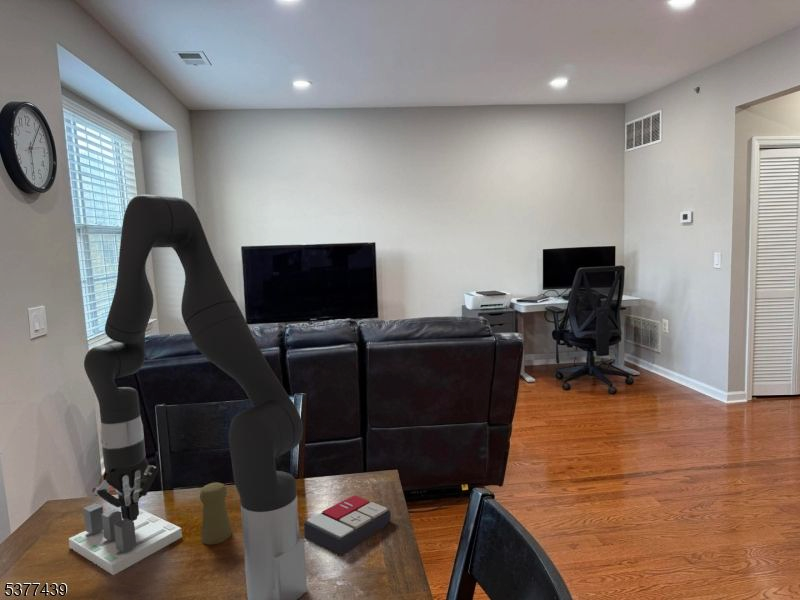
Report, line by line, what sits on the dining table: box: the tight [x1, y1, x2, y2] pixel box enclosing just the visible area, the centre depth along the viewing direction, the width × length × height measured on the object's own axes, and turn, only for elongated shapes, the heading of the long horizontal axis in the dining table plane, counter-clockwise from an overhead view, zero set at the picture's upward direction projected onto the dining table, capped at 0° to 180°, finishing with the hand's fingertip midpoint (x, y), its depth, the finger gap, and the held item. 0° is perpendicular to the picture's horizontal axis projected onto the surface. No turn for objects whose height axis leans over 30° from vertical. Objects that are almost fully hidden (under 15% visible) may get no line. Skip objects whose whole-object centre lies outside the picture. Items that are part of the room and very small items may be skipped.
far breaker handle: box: [82, 502, 104, 535], centre depth 103 cm, size 3×2×5 cm
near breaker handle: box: [114, 518, 136, 553], centre depth 96 cm, size 3×2×5 cm
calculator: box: [303, 494, 391, 557], centre depth 104 cm, size 11×4×15 cm
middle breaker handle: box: [102, 508, 122, 542], centre depth 100 cm, size 3×2×5 cm
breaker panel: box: [68, 508, 183, 576], centre depth 102 cm, size 17×14×2 cm
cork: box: [199, 482, 233, 545], centre depth 103 cm, size 6×6×11 cm
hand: (131, 520), depth 103 cm, fingers closed
